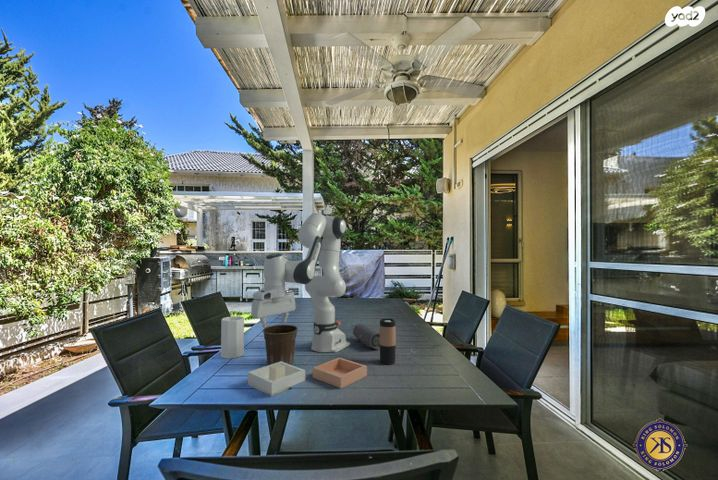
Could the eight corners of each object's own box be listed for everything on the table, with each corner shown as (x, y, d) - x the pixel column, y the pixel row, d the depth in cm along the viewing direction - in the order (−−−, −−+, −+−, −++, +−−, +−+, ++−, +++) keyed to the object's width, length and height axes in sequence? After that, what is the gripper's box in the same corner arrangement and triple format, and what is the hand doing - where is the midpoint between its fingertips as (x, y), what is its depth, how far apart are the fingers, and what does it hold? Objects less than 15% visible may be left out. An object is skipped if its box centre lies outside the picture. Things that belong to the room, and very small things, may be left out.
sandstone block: (278, 377, 133) (278, 363, 133) (285, 380, 130) (285, 365, 130) (268, 381, 129) (269, 366, 129) (275, 384, 126) (275, 369, 126)
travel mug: (376, 363, 153) (377, 320, 153) (383, 358, 159) (383, 317, 160) (392, 366, 149) (392, 322, 150) (397, 361, 156) (398, 319, 156)
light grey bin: (281, 372, 141) (281, 361, 141) (305, 382, 130) (305, 370, 131) (247, 384, 128) (248, 372, 128) (271, 396, 118) (271, 383, 118)
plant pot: (289, 370, 143) (289, 334, 143) (255, 368, 146) (256, 332, 146) (302, 358, 159) (303, 325, 159) (272, 356, 162) (272, 323, 162)
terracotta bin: (339, 368, 146) (339, 357, 146) (366, 377, 136) (366, 365, 136) (312, 379, 133) (312, 367, 134) (340, 390, 123) (341, 377, 123)
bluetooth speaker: (351, 340, 189) (351, 323, 190) (366, 338, 193) (366, 322, 194) (369, 352, 169) (369, 333, 169) (384, 349, 173) (384, 331, 173)
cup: (247, 352, 168) (248, 316, 168) (237, 359, 157) (238, 321, 157) (227, 351, 169) (228, 315, 170) (216, 358, 158) (216, 320, 158)
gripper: (289, 288, 146) (289, 319, 146) (249, 294, 130) (249, 328, 130) (298, 289, 142) (298, 321, 142) (258, 296, 126) (258, 331, 126)
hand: (274, 325), depth 136 cm, fingers open, 8 cm apart
